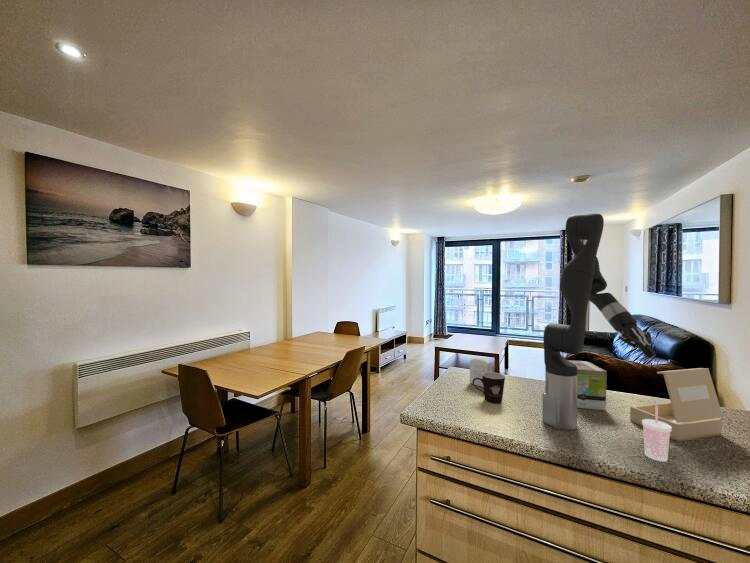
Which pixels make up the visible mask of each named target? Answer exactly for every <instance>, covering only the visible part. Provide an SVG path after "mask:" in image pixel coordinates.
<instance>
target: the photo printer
mask: <svg viewBox="0 0 750 563" xmlns="http://www.w3.org/2000/svg"><path fill="white" fill-rule="evenodd" d="M485 372H493V363H492V362H490V361H489V360H487V359H486V358H483V357H472V358H470V360H469V384H472V385H473V383H472V382H473V379H475V378H481V379H482V374H483V373H485ZM474 385H475V386H477V387H481V388H483V383H482V381H481V380H479V379H476V380H475V381H474Z"/></svg>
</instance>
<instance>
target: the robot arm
mask: <svg viewBox="0 0 750 563" xmlns="http://www.w3.org/2000/svg"><path fill="white" fill-rule="evenodd" d="M603 232H604V217H603V214H601V213H584V214H583V213H582V214H572V215H570V216H568V217H567V219H566V222H565V234H566V238H567V241H568V243H569V246H570V248H571V251H572V253H573V254H574V257H573V258H572V259H571V260H570V261H568V262H567V263H566V265H565V266H564V267H563V269H562V272H561V277H560V281H559V282H560V283H559V290H560V292H561V295H562V297H563V299H564V301H565V302H566V305H567V306H568V308H569V312H570V314H571V315H570V316H571V317H570V318H571V321H570V324H562V323H548V324H546V326H545V328H544V330H543V358H544V360H543V361H544V366H545V368H544V370H545V371H544V372H545V373H544V375H545V376H544V377H545V378H544V380H545V381H544V383H545V384H544V385H545V386H544V387H545V388H544V393H542V408H541V409H542V411H541V412H542V413H541V414H542V417H541V420H542V422H544V423H545V424H547V425H549V426H550V427H552V428H554V429H555V430H564V431H565V430H566V431H573V430H576V429H577V427H578V407H577V374H578V369H577V366H576V365H575V364H573V363H571V362H570V361H568V359H566V358H565V357H564V356H563V355H562V353H564V354H569V355H578V354H580V353H581V352H582V350H583V347H584V342H585V336H586V335H585V334H586V324H587V313H588V306H589V302H590V303H592V304H593V305H594V306H595V307H596V308H597V309H598V310H599V311H600V313H601V315H603V317H604V318H605V320H606V321H607V322H608V323H609V325H610V326H611V327H612V328H613V329H614V330H615V332H617V333H619V334H620V335H618V339H619V340H621V341H623V342H624V343H626V344H627V345H629V346H631V347H632V348H634V349H636V348H637V349H639V350H641V351H642V353H643V354H644V355H645V356H646V357H647V358H648V359H653V358H654V357H656V356H657V353H656V352H655V350H653V349H652V347H650V346H651V345H652V344H653V341H652V340H653V339H652V334H651V332H649V331H643V330H642V329H641V328H640V327H639V326H638V325H637V324H638V320H637V319H636V318H635V317H634V316H633V315H632V314H631V312H630V311H628V310H627V308H626V307H625V306H624V305H623V304H621V303H620V302H619V300H618V299H617V298H616V296H614V294H612V293H610V292H603V291H605V290H606V289H607V288H608V283H607V281H606V280H605V278H604V276H603V275H602V272H601V269H600V262H599V259H598V258H599V257H597V254H598V252H599V246H600V243H601V240H602V239H601V238H602V236H603ZM583 241H586V242H585V244H584V243H583Z"/></svg>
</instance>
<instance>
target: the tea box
mask: <svg viewBox="0 0 750 563" xmlns="http://www.w3.org/2000/svg"><path fill="white" fill-rule="evenodd" d="M567 360H568V359H567ZM568 361H570V362H571V363H573V364H575V365H576V366H577V369H578V374H577V409H587V410H588V409H589V410H597V411H598V410H599V411H605V410H606V409H607V370H605V369H603V368H601V367H599V366H597V365H595V364H594V363H592V362H590V361H583V360H568Z"/></svg>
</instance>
